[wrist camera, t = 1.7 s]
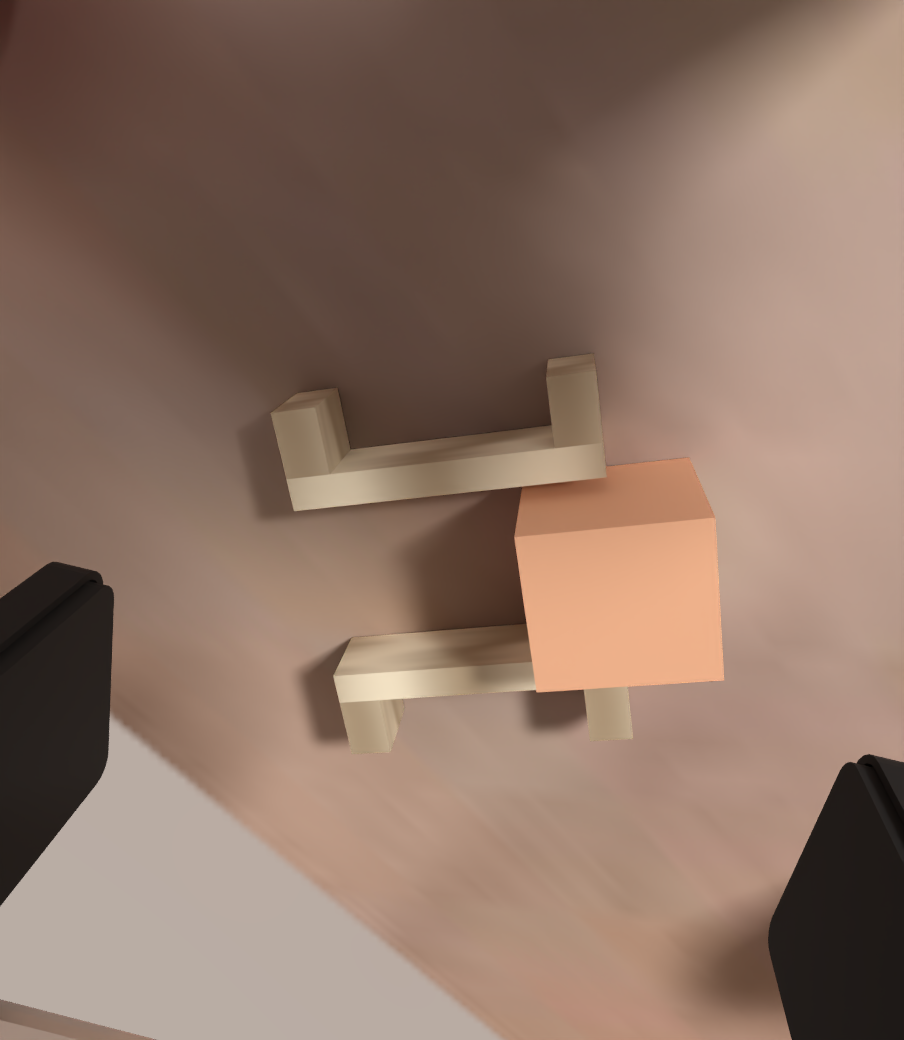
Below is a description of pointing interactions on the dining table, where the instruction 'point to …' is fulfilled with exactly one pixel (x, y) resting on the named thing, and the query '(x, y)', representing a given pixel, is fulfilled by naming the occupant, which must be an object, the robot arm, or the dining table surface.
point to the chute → (432, 472)
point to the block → (621, 579)
